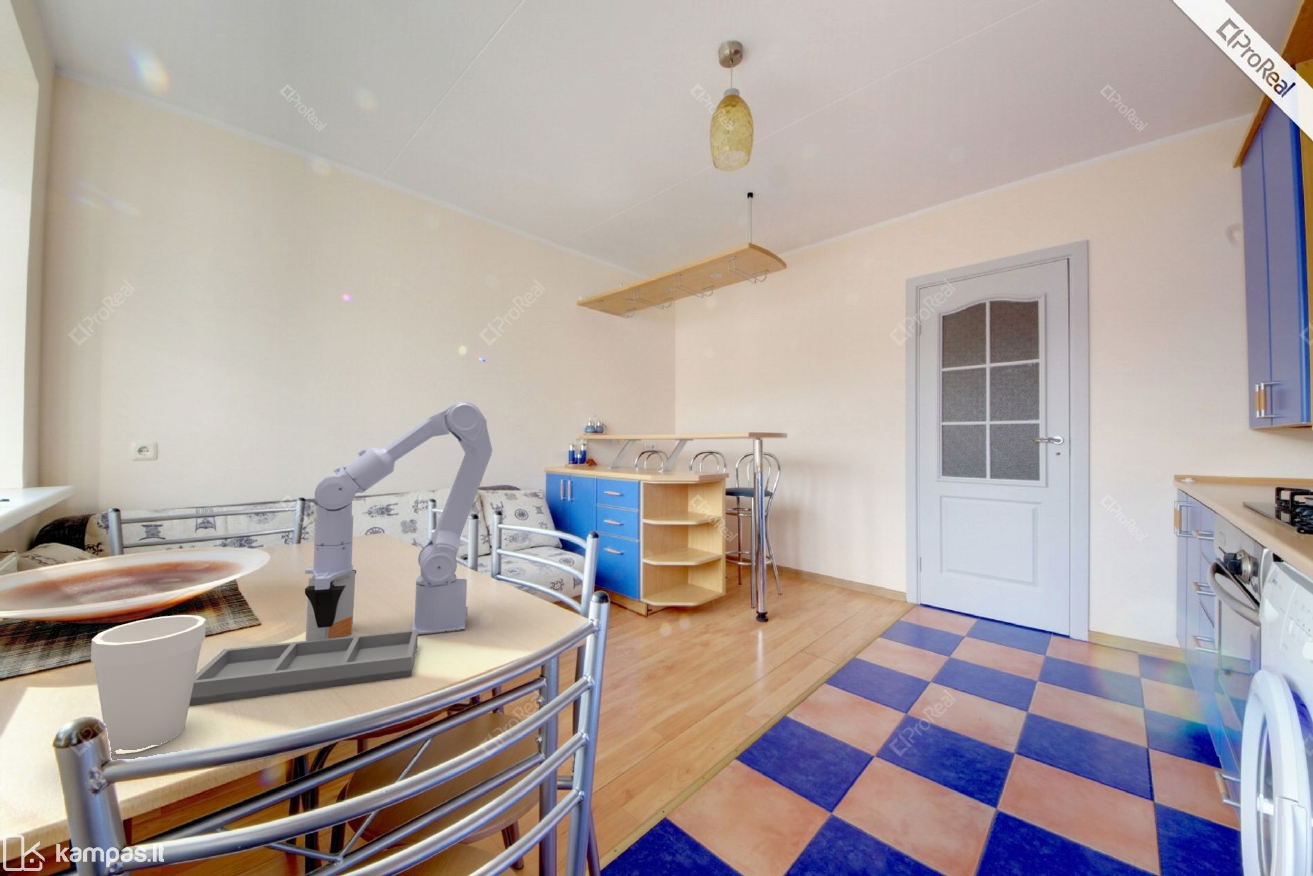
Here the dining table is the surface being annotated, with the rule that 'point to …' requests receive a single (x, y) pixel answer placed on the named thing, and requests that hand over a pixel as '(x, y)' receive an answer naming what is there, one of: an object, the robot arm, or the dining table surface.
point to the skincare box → (343, 612)
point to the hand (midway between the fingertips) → (330, 619)
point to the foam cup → (147, 678)
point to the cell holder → (304, 666)
